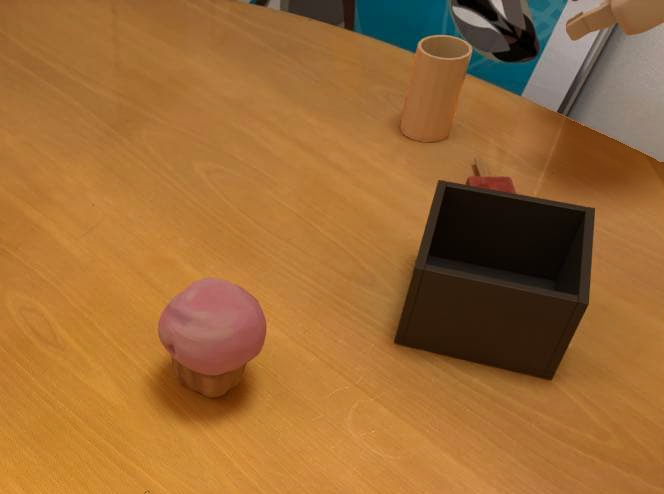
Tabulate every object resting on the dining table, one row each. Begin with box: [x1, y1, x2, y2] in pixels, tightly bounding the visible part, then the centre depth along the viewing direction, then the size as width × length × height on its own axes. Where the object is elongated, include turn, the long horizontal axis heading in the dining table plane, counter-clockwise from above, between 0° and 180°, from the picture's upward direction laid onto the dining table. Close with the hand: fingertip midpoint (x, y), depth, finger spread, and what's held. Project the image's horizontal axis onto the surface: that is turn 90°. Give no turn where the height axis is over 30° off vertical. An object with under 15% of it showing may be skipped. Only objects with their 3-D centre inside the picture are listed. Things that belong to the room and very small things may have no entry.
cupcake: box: [157, 277, 267, 399], centre depth 73 cm, size 9×9×10 cm
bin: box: [393, 179, 596, 381], centre depth 78 cm, size 14×14×9 cm
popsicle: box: [465, 155, 517, 194], centre depth 92 cm, size 4×2×15 cm
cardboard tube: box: [399, 34, 473, 143], centre depth 99 cm, size 6×6×10 cm
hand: (568, 12), depth 90 cm, fingers open, 8 cm apart
